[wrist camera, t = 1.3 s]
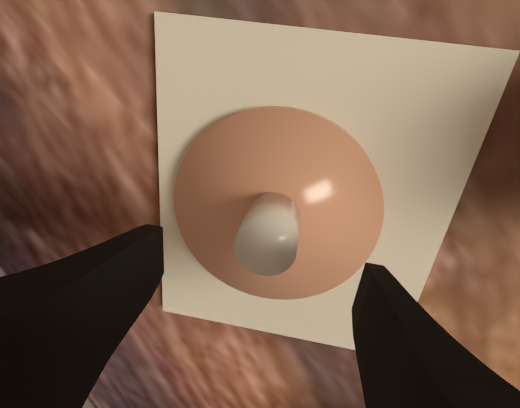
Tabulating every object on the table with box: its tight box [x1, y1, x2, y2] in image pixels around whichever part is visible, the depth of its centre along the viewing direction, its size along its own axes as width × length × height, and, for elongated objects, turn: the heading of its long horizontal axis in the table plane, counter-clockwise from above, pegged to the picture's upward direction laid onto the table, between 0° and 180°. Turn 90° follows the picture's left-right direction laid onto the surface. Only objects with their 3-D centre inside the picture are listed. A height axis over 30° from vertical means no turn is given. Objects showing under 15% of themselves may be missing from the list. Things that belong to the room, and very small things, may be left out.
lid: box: [174, 106, 384, 300], centre depth 14 cm, size 10×10×4 cm
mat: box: [154, 11, 520, 350], centre depth 16 cm, size 16×14×1 cm
